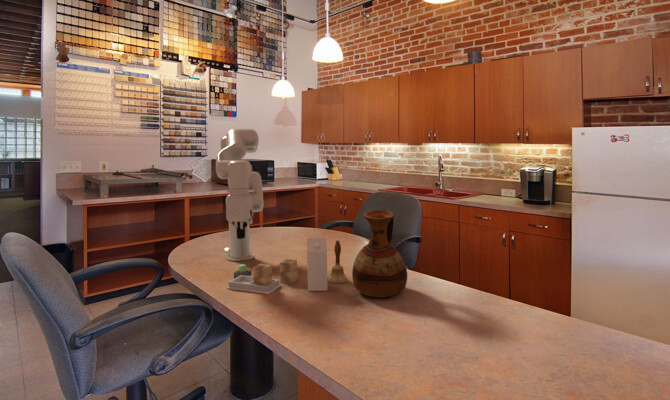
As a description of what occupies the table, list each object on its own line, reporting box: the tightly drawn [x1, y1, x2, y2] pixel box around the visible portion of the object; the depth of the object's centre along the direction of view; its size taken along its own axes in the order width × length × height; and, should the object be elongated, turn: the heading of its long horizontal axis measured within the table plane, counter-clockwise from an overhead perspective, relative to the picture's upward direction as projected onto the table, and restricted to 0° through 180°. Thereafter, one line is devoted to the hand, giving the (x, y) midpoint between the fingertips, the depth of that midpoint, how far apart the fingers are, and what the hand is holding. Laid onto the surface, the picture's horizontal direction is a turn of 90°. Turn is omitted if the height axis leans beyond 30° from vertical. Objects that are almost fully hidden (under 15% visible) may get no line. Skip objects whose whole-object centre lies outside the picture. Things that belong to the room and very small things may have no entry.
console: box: [233, 269, 253, 279], centre depth 160 cm, size 5×5×3 cm
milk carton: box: [306, 237, 328, 292], centre depth 147 cm, size 7×7×19 cm
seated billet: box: [252, 263, 273, 286], centre depth 148 cm, size 5×5×8 cm
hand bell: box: [327, 240, 349, 284], centre depth 156 cm, size 8×8×16 cm
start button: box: [238, 263, 247, 273], centre depth 159 cm, size 3×3×4 cm
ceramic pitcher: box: [351, 209, 408, 298], centre depth 141 cm, size 20×20×30 cm
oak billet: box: [279, 258, 298, 284], centre depth 156 cm, size 5×5×8 cm
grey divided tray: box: [226, 275, 282, 295], centre depth 149 cm, size 18×9×3 cm, turn 69°
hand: (241, 238), depth 158 cm, fingers closed
